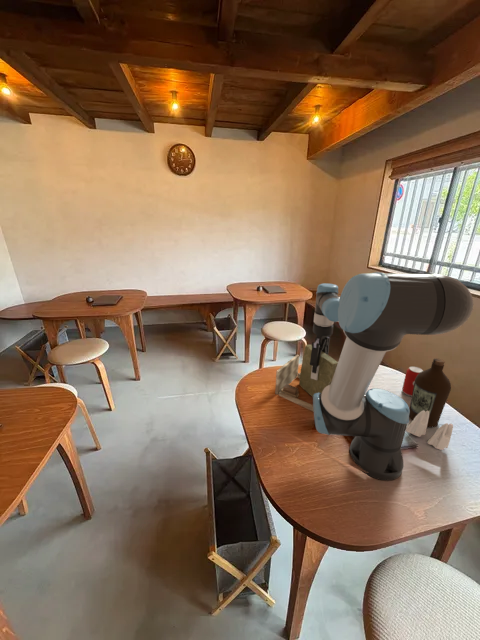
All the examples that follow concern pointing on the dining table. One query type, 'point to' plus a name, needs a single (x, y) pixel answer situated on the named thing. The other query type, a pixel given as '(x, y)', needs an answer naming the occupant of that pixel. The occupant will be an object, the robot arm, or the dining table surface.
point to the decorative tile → (324, 375)
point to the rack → (289, 381)
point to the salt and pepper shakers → (440, 436)
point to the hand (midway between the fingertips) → (317, 375)
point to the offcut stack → (290, 390)
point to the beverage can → (410, 380)
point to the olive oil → (430, 392)
